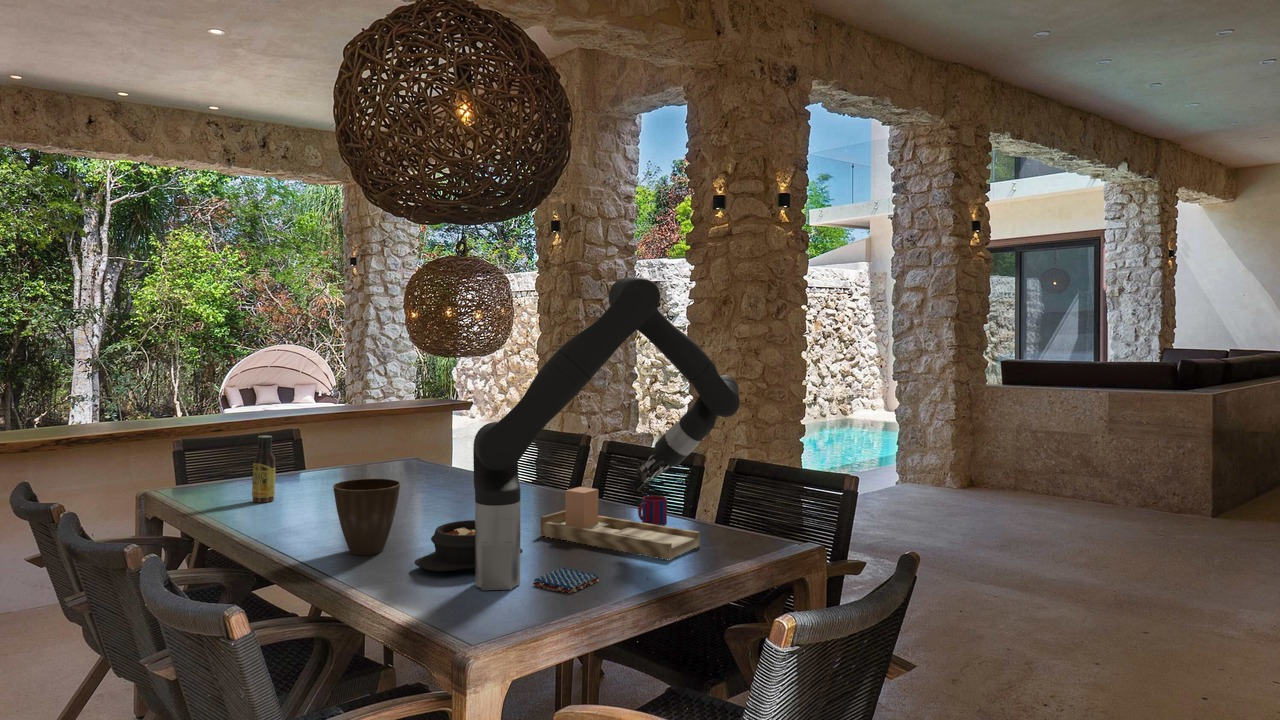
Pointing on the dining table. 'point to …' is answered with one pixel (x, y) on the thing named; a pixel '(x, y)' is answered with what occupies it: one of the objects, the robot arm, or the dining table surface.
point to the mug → (653, 510)
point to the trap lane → (623, 535)
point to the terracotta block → (581, 507)
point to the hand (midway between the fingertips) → (634, 487)
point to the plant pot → (366, 512)
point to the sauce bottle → (264, 472)
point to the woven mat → (565, 580)
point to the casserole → (452, 548)
